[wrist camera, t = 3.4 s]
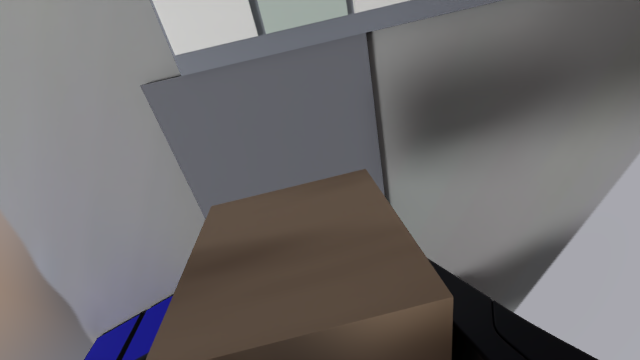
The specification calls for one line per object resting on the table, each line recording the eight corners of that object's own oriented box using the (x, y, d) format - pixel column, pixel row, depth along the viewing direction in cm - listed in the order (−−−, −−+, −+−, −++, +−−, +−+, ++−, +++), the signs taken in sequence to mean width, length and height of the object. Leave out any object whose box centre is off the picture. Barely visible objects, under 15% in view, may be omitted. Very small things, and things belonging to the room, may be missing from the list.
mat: (385, 214, 20) (387, 217, 20) (225, 254, 20) (224, 257, 20) (363, 32, 15) (365, 32, 14) (143, 84, 15) (140, 85, 14)
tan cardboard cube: (381, 279, 11) (449, 438, 7) (259, 310, 11) (244, 493, 6) (365, 168, 9) (453, 297, 4) (211, 206, 9) (138, 376, 4)
